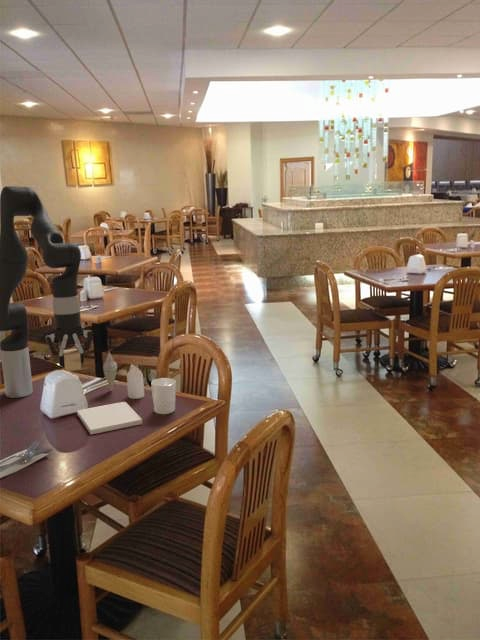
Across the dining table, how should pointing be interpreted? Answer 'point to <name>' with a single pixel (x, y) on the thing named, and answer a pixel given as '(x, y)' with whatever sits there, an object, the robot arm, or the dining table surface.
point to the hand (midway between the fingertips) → (71, 365)
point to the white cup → (163, 395)
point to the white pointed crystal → (135, 383)
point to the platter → (108, 417)
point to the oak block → (72, 360)
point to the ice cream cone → (110, 370)
